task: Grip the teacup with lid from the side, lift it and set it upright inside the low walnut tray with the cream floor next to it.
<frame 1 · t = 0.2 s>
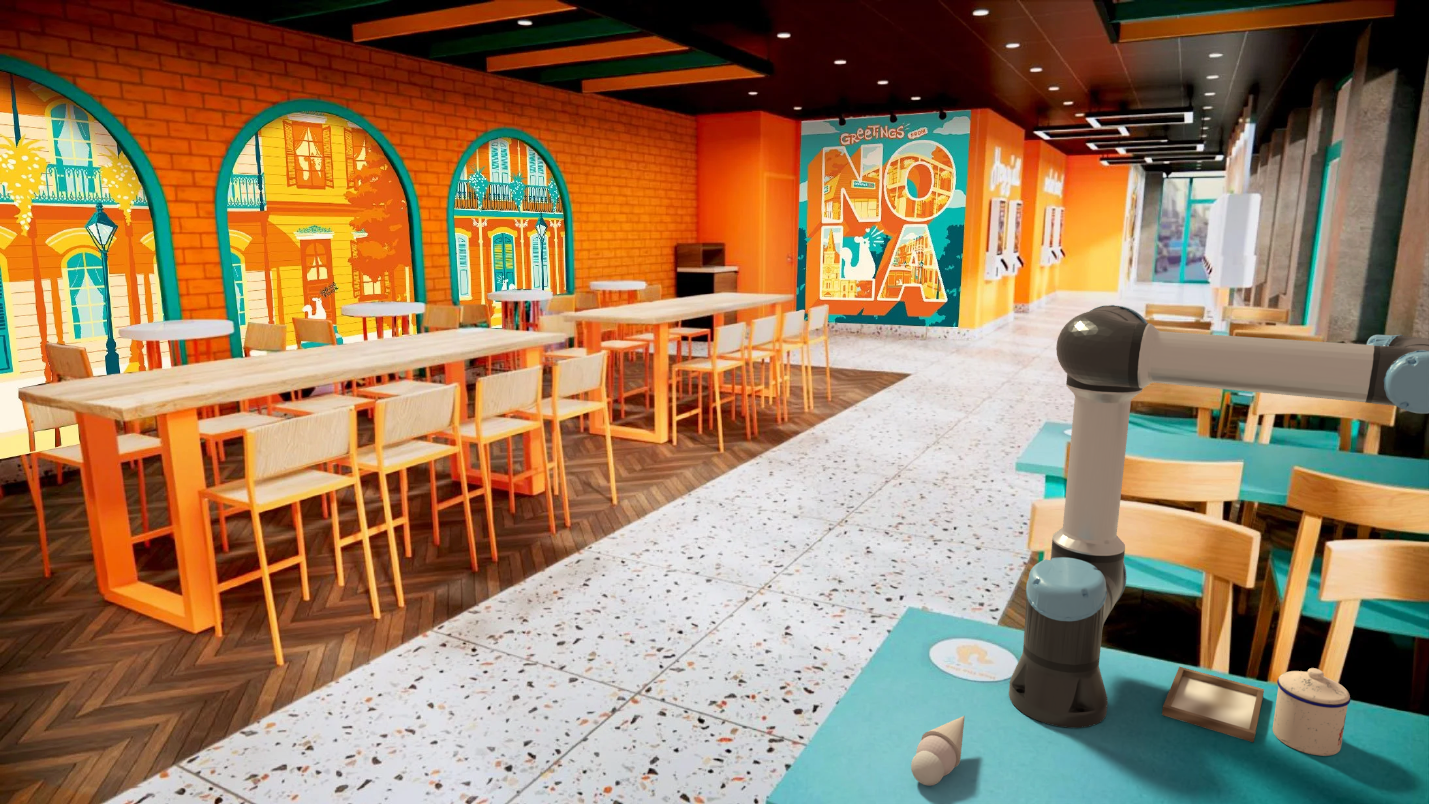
teacup with lid: (1301, 735, 130), on the table
walnut tray: (1213, 705, 138), on the table
ice cream cone: (941, 765, 124), on the table
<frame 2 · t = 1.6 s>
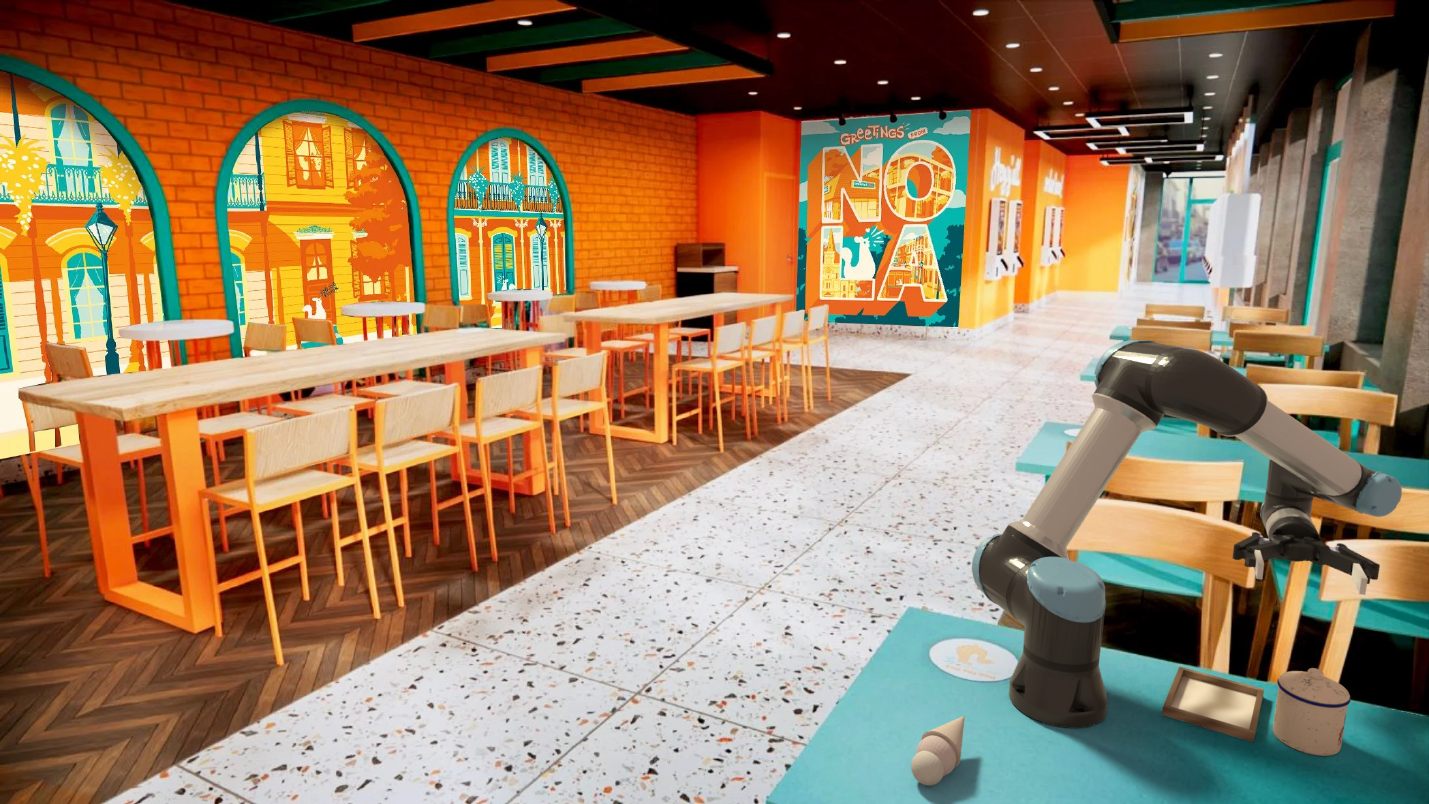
hand: (1310, 578, 134), 22 cm above the table, fingers open, 13 cm apart
nothing on the table moved.
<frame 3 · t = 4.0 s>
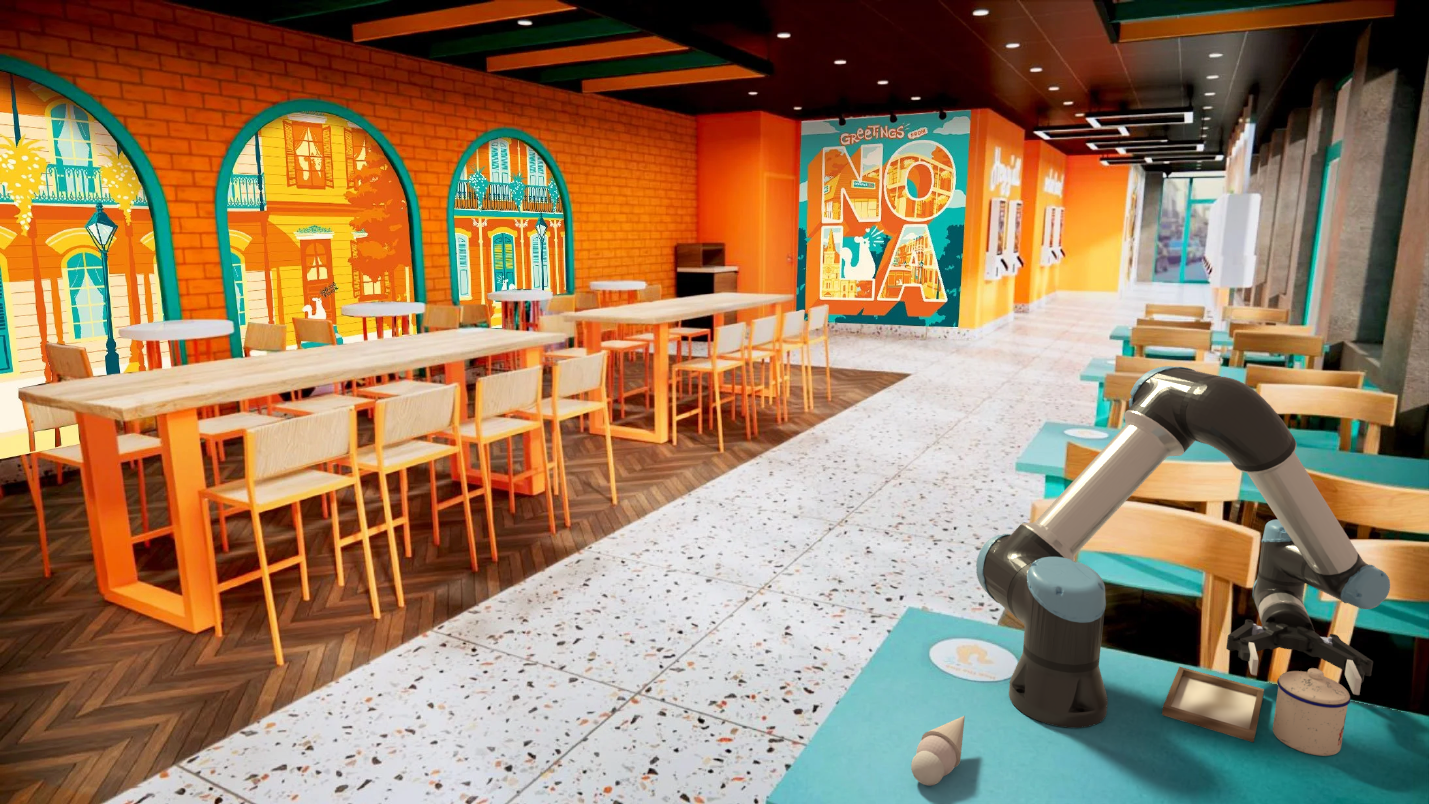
hand: (1305, 677, 134), 7 cm above the table, fingers open, 13 cm apart
nothing on the table moved.
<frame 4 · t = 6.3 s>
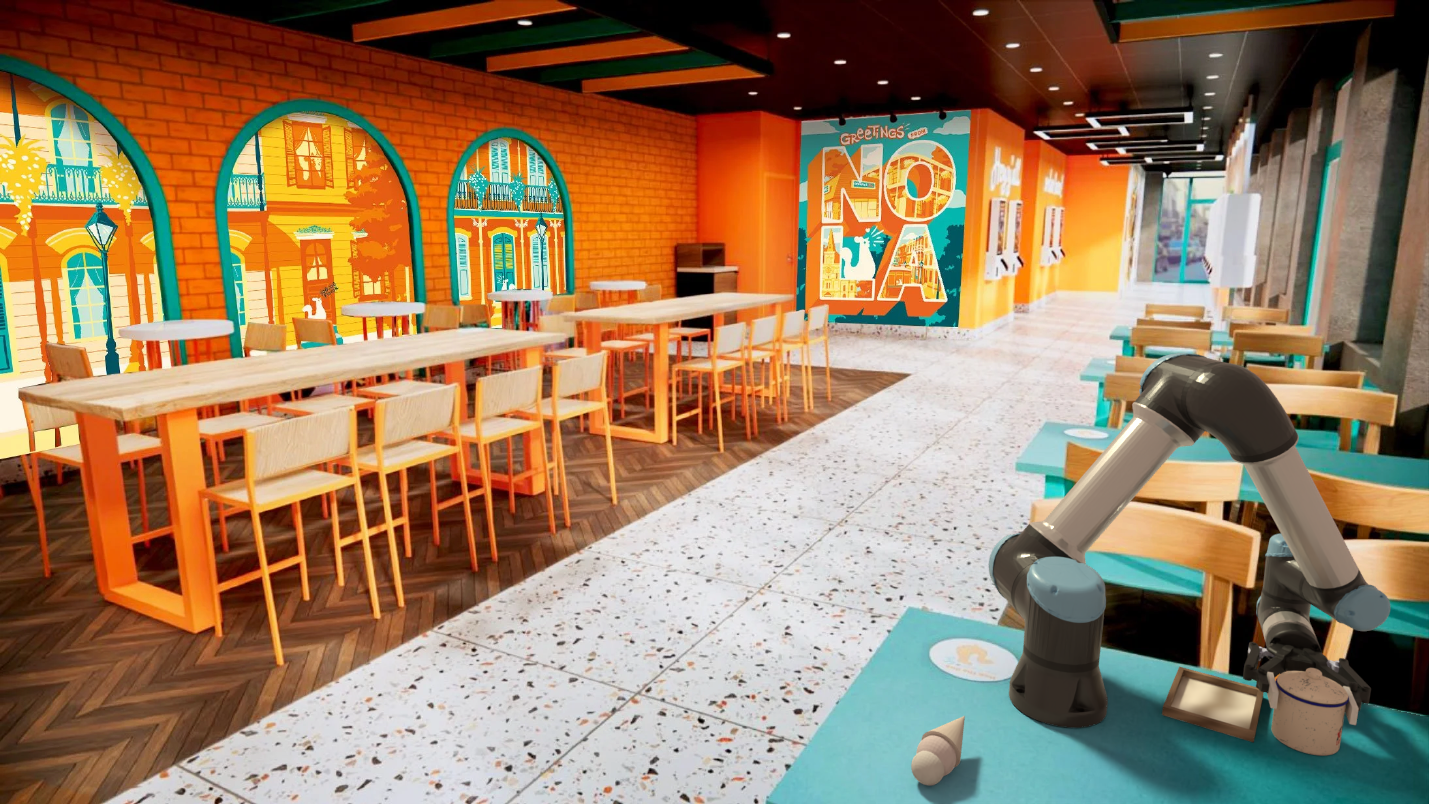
hand: (1313, 708, 125), 7 cm above the table, fingers closed on teacup with lid, 9 cm apart
teacup with lid: (1299, 735, 130), on the table, touching gripper
everything else where it was.
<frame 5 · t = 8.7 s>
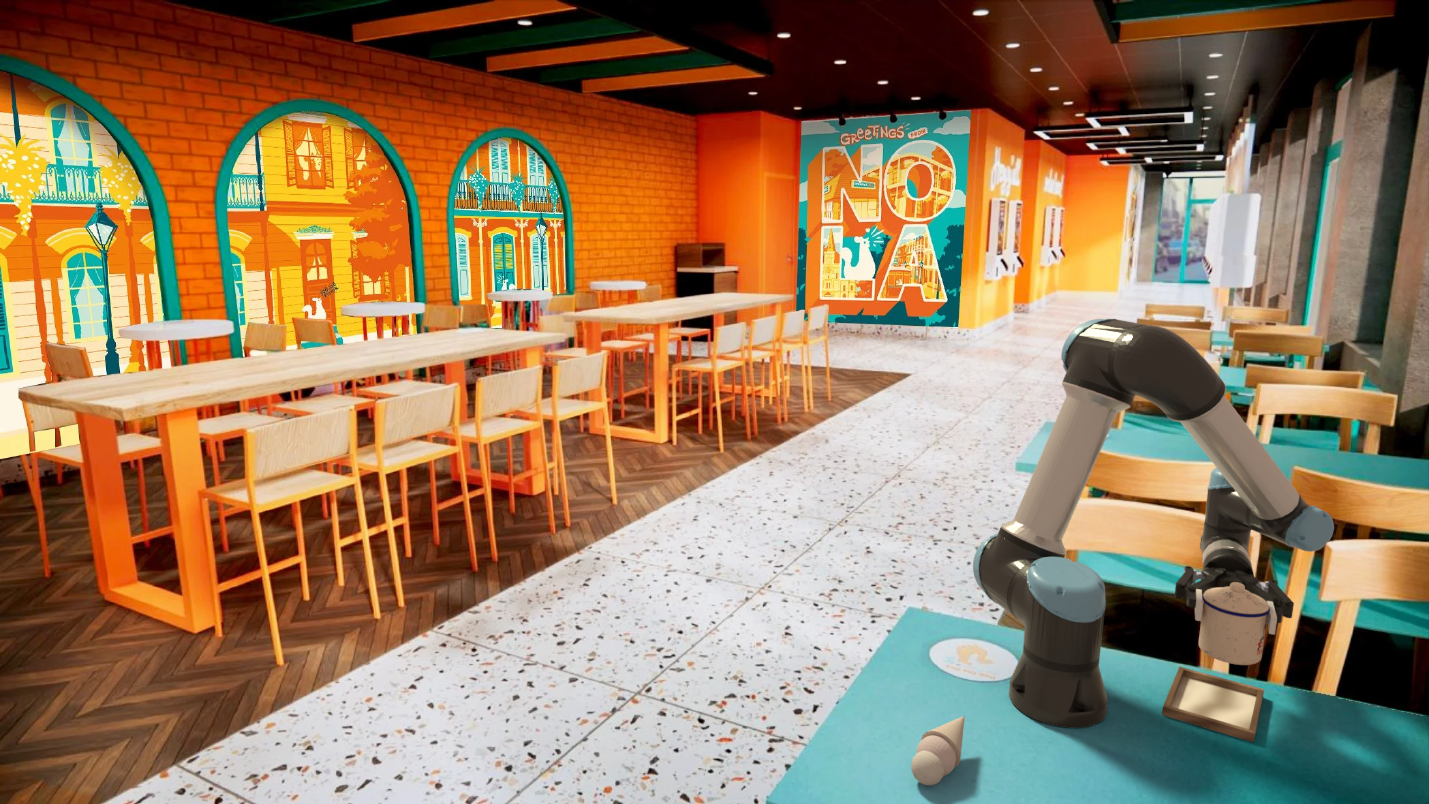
hand: (1235, 619, 130), 18 cm above the table, fingers closed on teacup with lid, 9 cm apart
teacup with lid: (1225, 649, 135), point 11 cm above the table, touching gripper
everything else where it was.
when the fingers open (8 cm above the table, at t = 11.1 s): teacup with lid drops 1 cm, resting on walnut tray.
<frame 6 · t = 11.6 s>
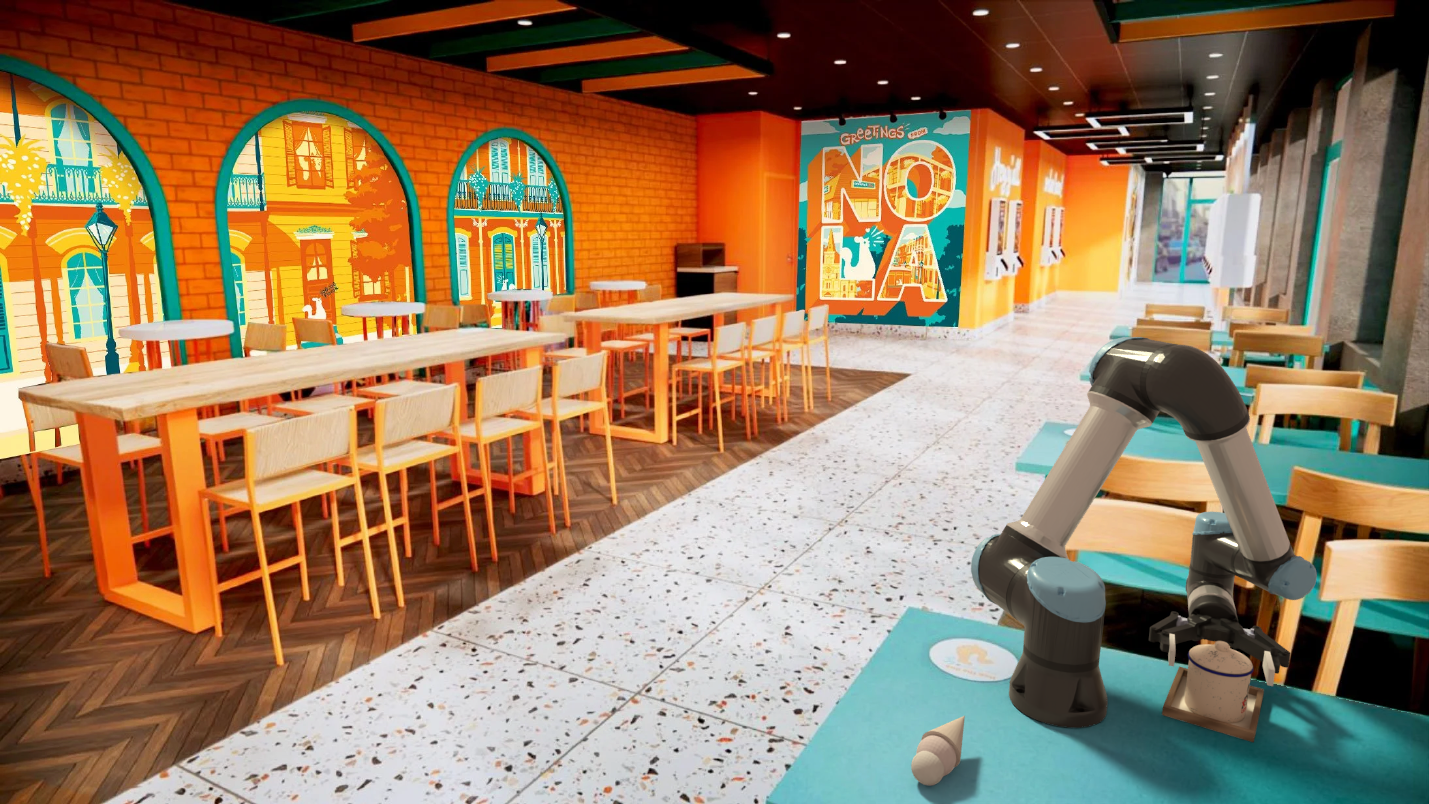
hand: (1220, 668, 134), 9 cm above the table, fingers open, 13 cm apart
teacup with lid: (1210, 705, 138), resting on walnut tray
everything else where it was.
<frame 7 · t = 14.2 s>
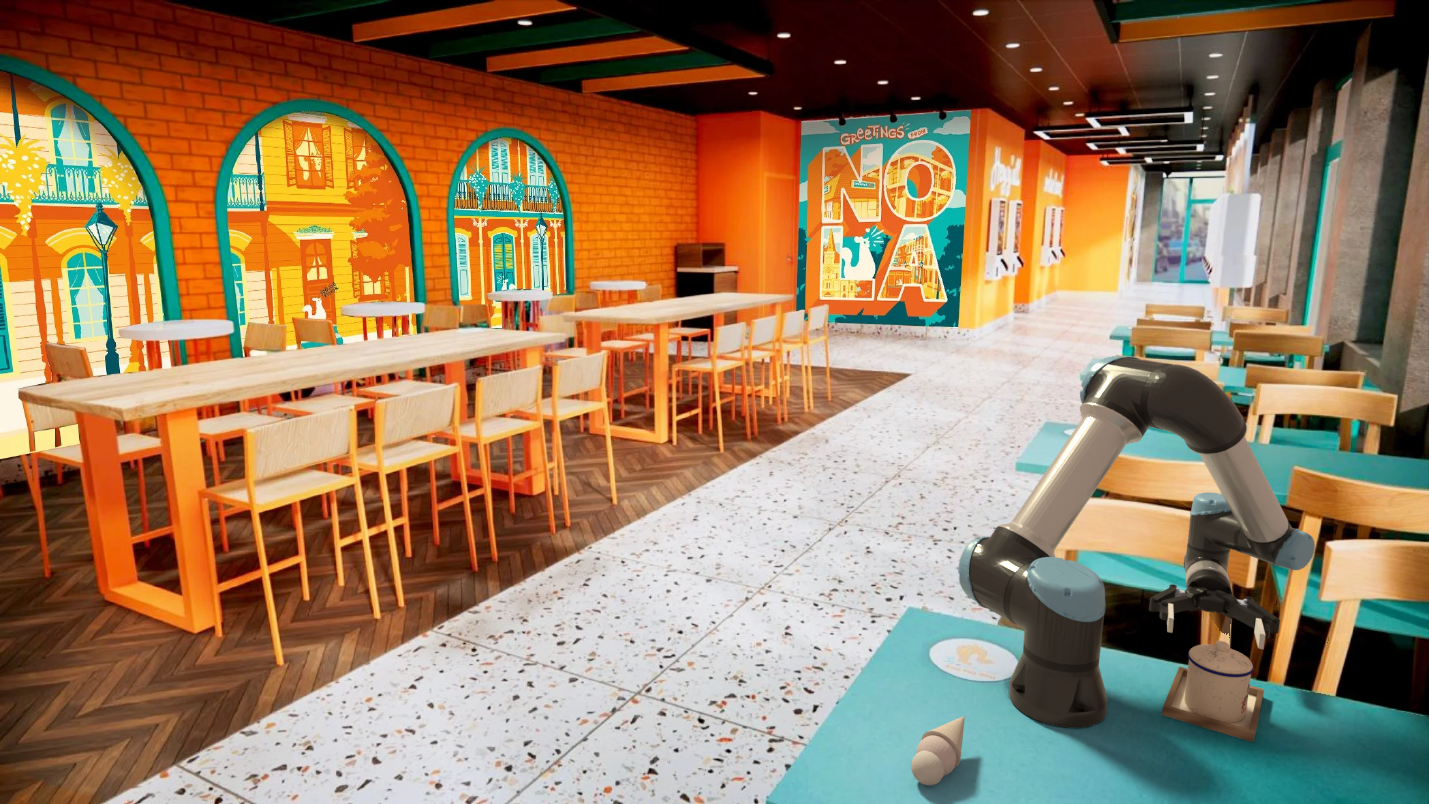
hand: (1215, 633, 145), 9 cm above the table, fingers open, 13 cm apart
nothing on the table moved.
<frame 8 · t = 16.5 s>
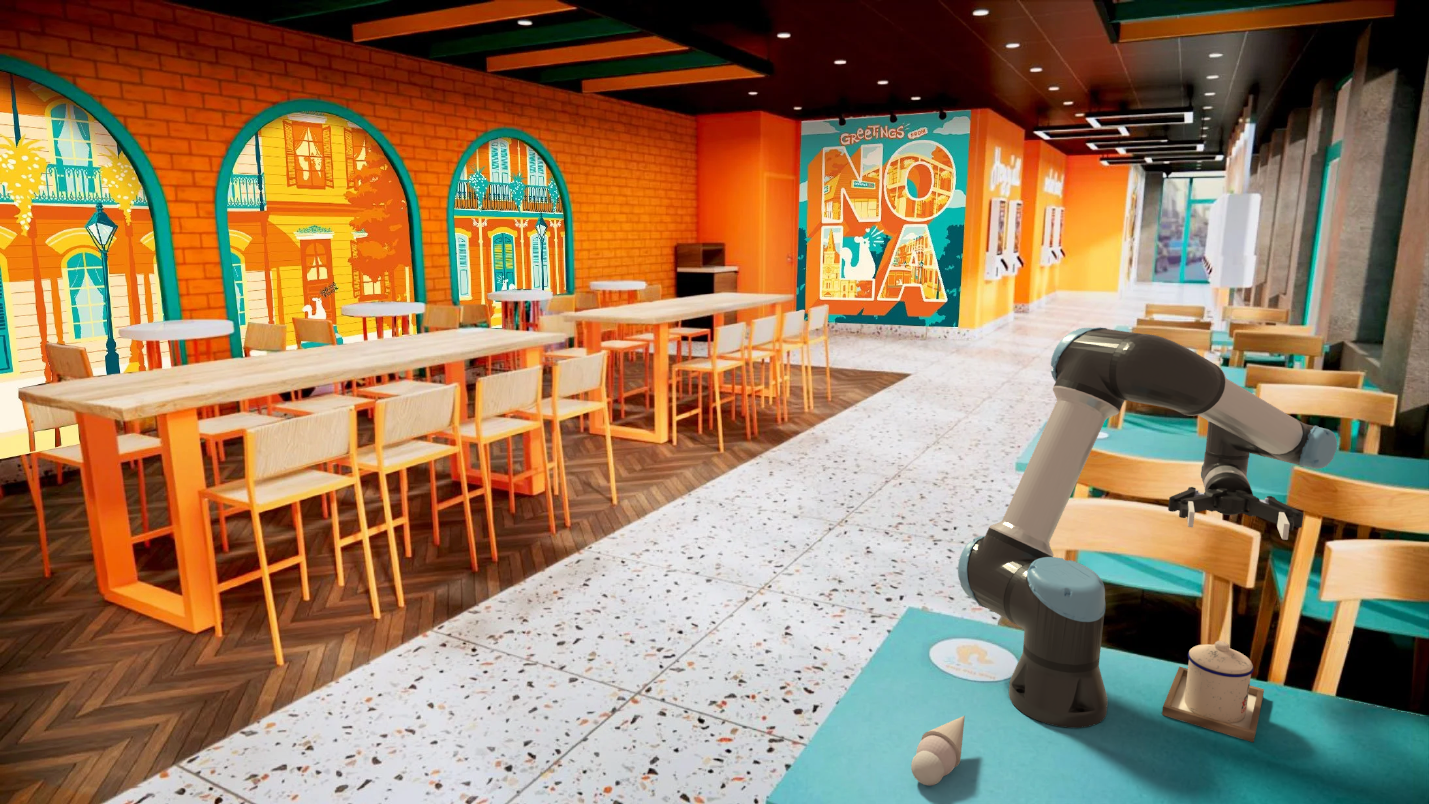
hand: (1237, 525, 141), 28 cm above the table, fingers open, 13 cm apart
nothing on the table moved.
at the end: teacup with lid 0.4 cm from the target spot, resting on walnut tray; teacup with lid tilted 0°; the gripper is holding nothing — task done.
